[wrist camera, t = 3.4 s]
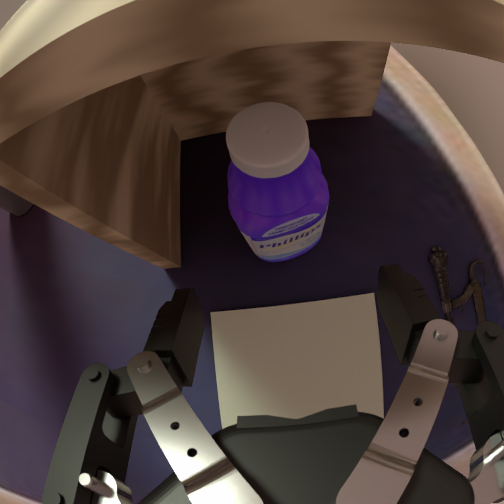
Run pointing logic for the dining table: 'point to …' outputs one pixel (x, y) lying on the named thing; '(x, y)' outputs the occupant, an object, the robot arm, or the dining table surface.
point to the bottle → (275, 181)
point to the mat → (298, 358)
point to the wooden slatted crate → (187, 90)
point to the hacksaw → (472, 288)
